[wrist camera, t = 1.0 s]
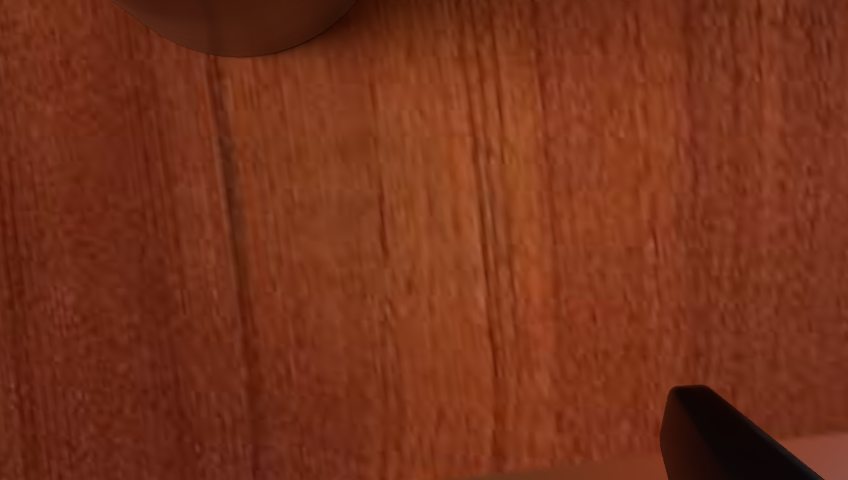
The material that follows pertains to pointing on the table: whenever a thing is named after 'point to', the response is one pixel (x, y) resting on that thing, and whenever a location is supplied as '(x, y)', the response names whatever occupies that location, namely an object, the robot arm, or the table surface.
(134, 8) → the metal cylinder
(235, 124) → the table surface
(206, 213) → the table surface
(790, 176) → the table surface
